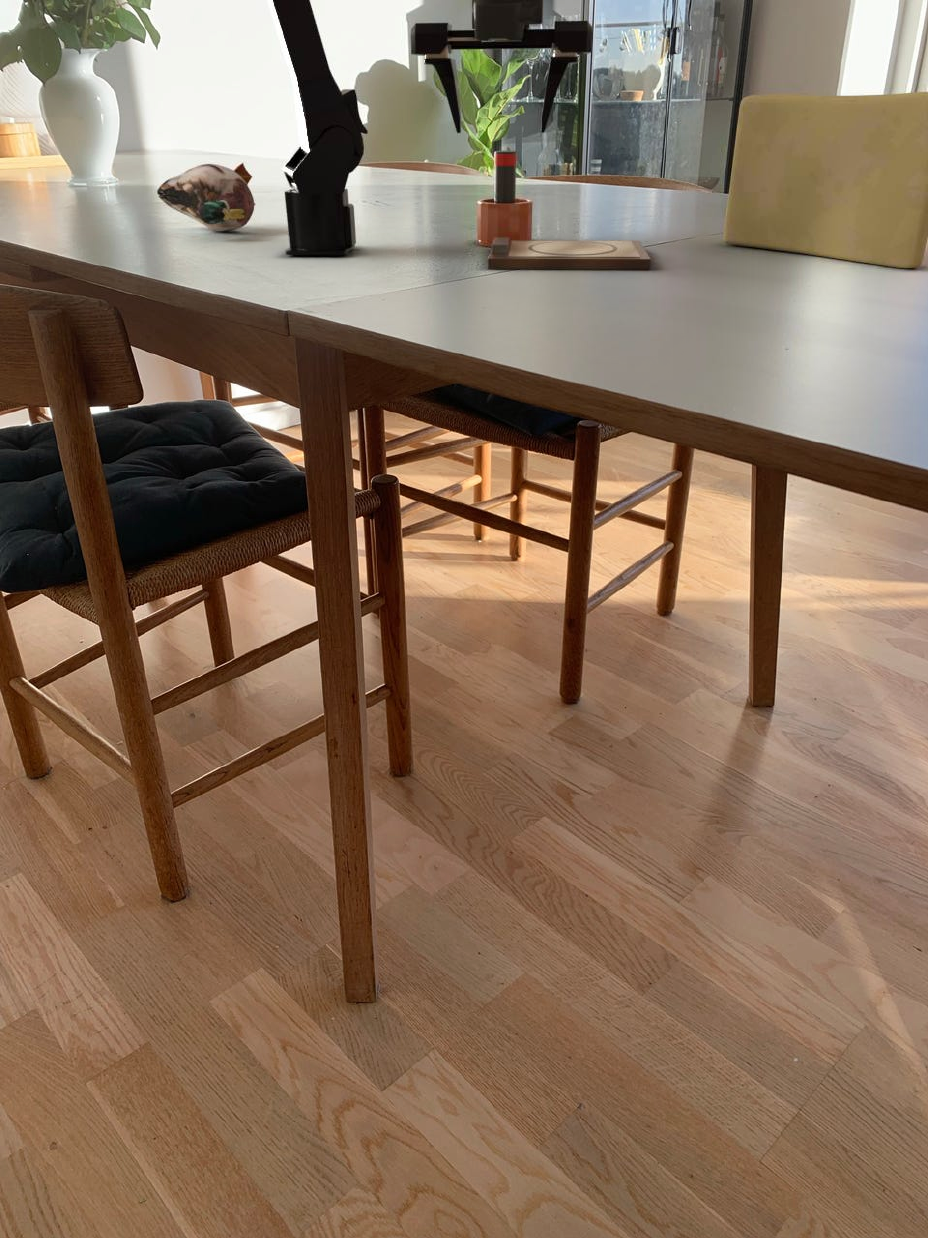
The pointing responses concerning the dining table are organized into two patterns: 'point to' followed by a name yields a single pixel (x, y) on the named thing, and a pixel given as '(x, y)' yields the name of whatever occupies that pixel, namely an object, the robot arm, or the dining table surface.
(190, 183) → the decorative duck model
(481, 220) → the pen pot
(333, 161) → the robot arm
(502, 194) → the marker
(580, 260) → the wooden board with ring
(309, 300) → the dining table surface
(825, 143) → the cheese
